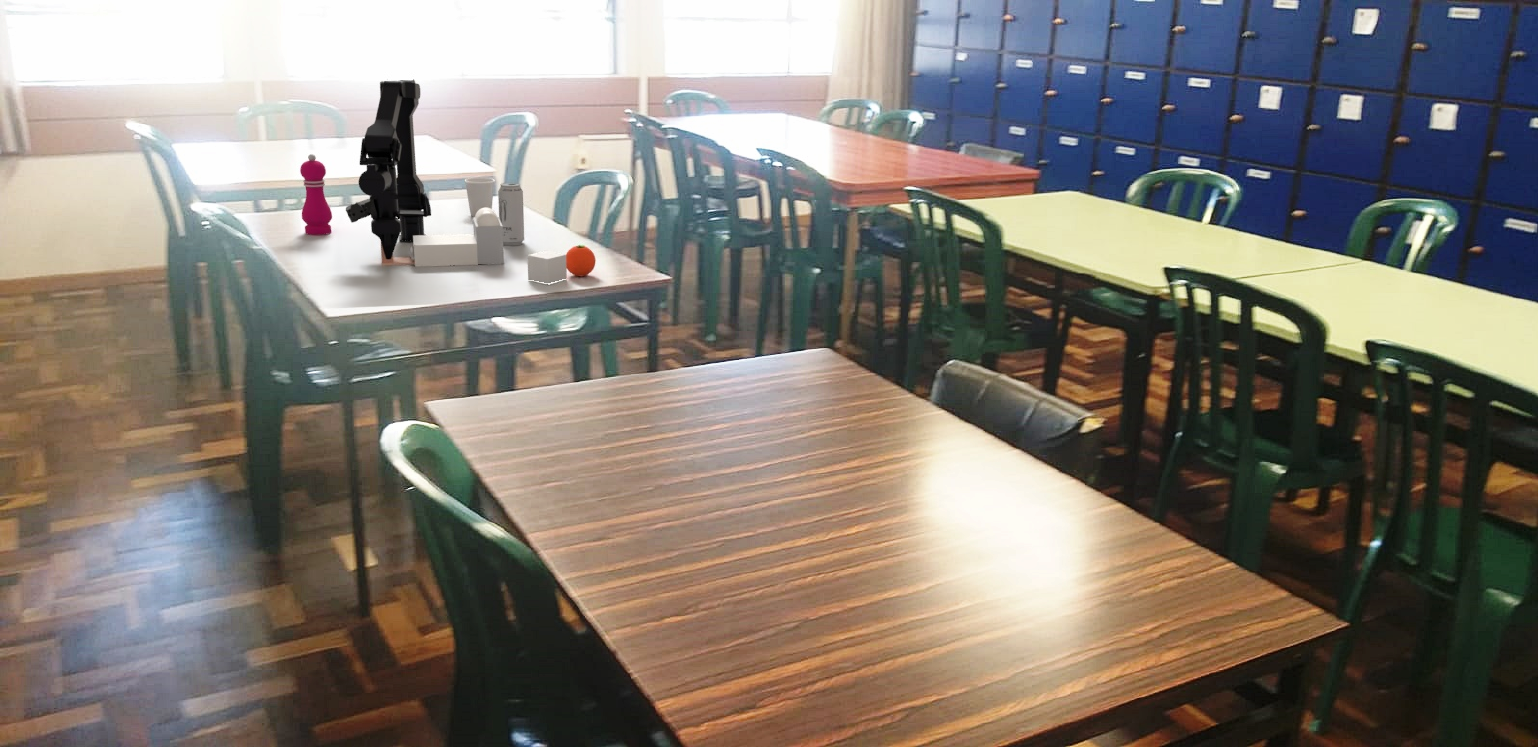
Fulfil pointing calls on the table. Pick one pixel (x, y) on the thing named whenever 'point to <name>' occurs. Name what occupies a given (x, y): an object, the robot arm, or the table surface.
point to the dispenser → (463, 244)
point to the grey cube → (547, 267)
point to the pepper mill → (315, 198)
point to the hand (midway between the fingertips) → (388, 255)
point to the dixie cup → (479, 193)
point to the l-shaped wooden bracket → (396, 260)
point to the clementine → (580, 260)
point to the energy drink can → (511, 213)
